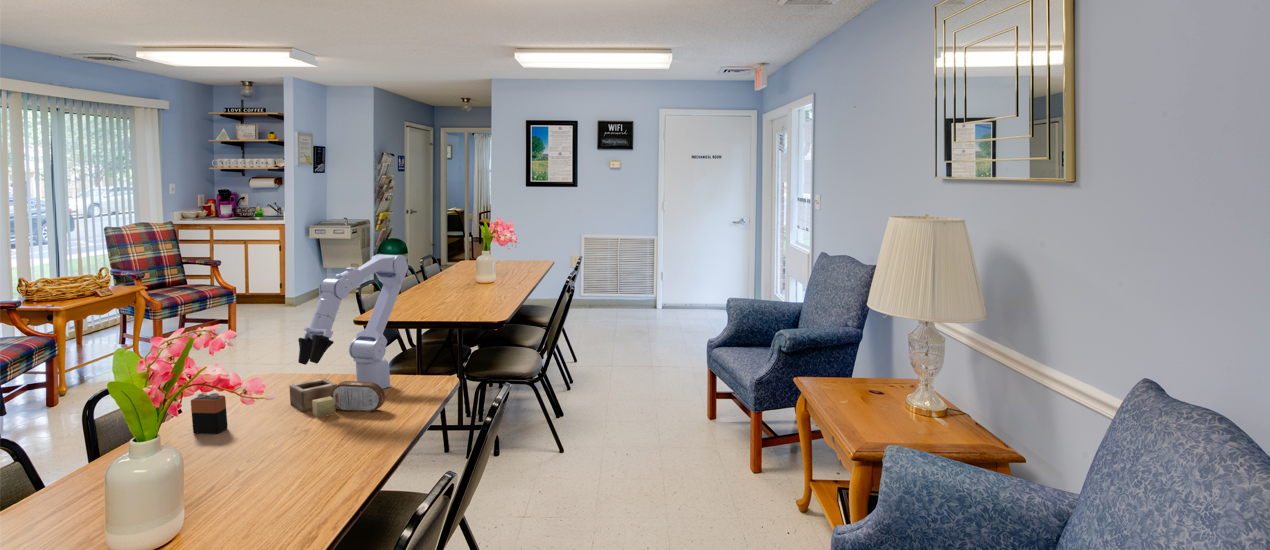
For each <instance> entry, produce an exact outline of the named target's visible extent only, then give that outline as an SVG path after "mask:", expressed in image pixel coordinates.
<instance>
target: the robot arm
mask: <svg viewBox="0 0 1270 550" xmlns="http://www.w3.org/2000/svg"><path fill="white" fill-rule="evenodd" d="M408 270H409V266H408V260H407V258H406V257H405V256H404V255H403V254H382V253H378V254H375V255H373V256H371V258H370V259H369V260H368V261H367V262H365V263H364V264H362V265H361V266H359V267H358V268H357V267H346V269H345V271H343V272H341V273H337V274H335V276H334V277H332V278H325V279H324V280H323V281H322V282H321V283H319V285H318V297H317V299H318V302H317V305H316V307H315V311H314V313H313V315H312V317H311V321H310V324H309V327H304V328H303V331H305V332H304V335H303V337H299V338H298V345H299V352H298V362H297V363H299V364H301V365H304V366H305V365H307V364H308V362H310V363H313V364H318V363H320V361H321V360H322V358H323V356H324V355H325V353H326V351H327V350H329V348H330V347H331V346H332V345H333V344H334V340H331V338H332V337H333V333H334V330H332V329H333V325H334V323H335V320H336V318H337V314H338V311H339V309H340V305H341V302H342V300H343V299H345V298H347V297H348V296H349V295H350V292H351V291H352V290H354V289H355V288H357V287H359V286H361V285H362V284H363V282H364V279H366V278H367V277H369V276H371V275H373V274H375V275H376V278H377V279H378V280H379V282H380V283H381V284H382V287H381V291H380V292H379V294H378V297H377V300H376V303H375V304H374V306H373V310H372V312H371V314H370V317H369V320H368V322H367V325H366V327H365V328H364V329H363V330H361V331H359V332H357V333H356V336H355V338H354V339H353V340H351V342H350V344H349V347H348V353H349V356H350V357H351V358H352V359H353V362H355V371H356V372H355V374H356V375H355V376H356V377H355V378H356V381H358V382H373V383H376V384H378V385H379V386H380V387H381V388H382V389H383V390H384V389H387V387H388V388H392V385H391V380H390V379H391V377H390V376H391V375H390V364H389V361H388V360H387V359H386V358H384V357H385V355H386V348H387V344H388V340H387V338H386V337H385V335H384V331H385V330H386V327H387V324H388V322H389V319H390V316H391V314H392V311H393V309H394V307H395V304H396V301H397V300H398V296H399V294H400V291H401V289H402V284H403V282H404V280H405V277H406V275H407V272H408Z"/></svg>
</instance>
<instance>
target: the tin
mask: <svg viewBox="0 0 1270 550" xmlns="http://www.w3.org/2000/svg"><path fill="white" fill-rule="evenodd" d="M331 397H333V398H334V399H335V408H337V409H339V410H340V411H344V412H358V411H373V412H375V411H377V410H378V409H380V408H381V407H382V406H383V405H384V403H385V400H386V395H385V391H384V388H383V389H382V388H381V387H380V386H379V385H378V384H376V383H373V382H358V381H357V380H356V381H354V380H353V381H352V380H343V381H340V382H339V383H338V384H337V386H336V387H335V388H334V389H333V390H332V394H331Z"/></svg>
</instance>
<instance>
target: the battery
mask: <svg viewBox="0 0 1270 550" xmlns="http://www.w3.org/2000/svg"><path fill="white" fill-rule="evenodd" d="M203 394H204V393H198V394H197V396H196V397H194V398H192V399H191V400H190V408H191V409H190V410H191V421H192V432H193V434H198V435H199V434H201V433H202V434H203V433H205V434H206V433H208V434H209V433H210V434H209V435H219V433H222V432H223V431H225V430H227V429H228V416H227V413H228V412H227V403H226V402H227V400H226V395H222V394H221V395H219V392H218V393H217V392H214V393H210V394H205V395H203ZM212 433H213V434H212ZM205 434H204V435H205ZM206 435H207V434H206Z"/></svg>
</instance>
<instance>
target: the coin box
mask: <svg viewBox="0 0 1270 550" xmlns="http://www.w3.org/2000/svg"><path fill="white" fill-rule="evenodd" d="M337 385H338V384H337V383H335V382H333V381H331V380H329V379H327V378H325V377H324V378H318V379H313V380H308V381H302V382H298V383H292V384H289V385H288V386H289V401H290V402H289V403H290V406H292V407H293V408H295V409H296V410H299V411H300V412H302V413H304V412H309V411H313V407H312V400H315V399H320V398H325V397H329V396H331V394H332V390H333V389H334V388H335V387H336V386H337Z"/></svg>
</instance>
